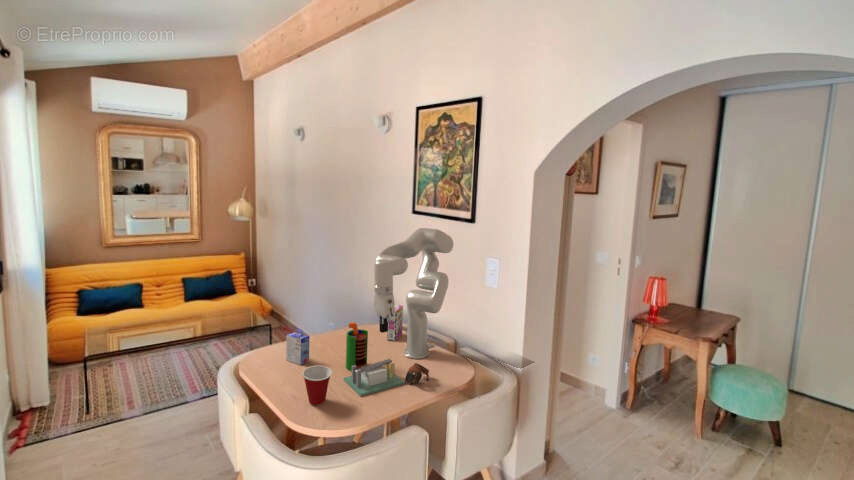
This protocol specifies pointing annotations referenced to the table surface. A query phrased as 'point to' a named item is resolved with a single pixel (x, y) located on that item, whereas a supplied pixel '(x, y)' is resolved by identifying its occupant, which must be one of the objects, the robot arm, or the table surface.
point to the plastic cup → (317, 383)
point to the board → (375, 387)
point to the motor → (356, 347)
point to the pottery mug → (416, 374)
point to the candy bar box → (395, 324)
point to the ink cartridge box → (297, 347)
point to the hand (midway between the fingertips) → (383, 331)
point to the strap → (374, 365)
